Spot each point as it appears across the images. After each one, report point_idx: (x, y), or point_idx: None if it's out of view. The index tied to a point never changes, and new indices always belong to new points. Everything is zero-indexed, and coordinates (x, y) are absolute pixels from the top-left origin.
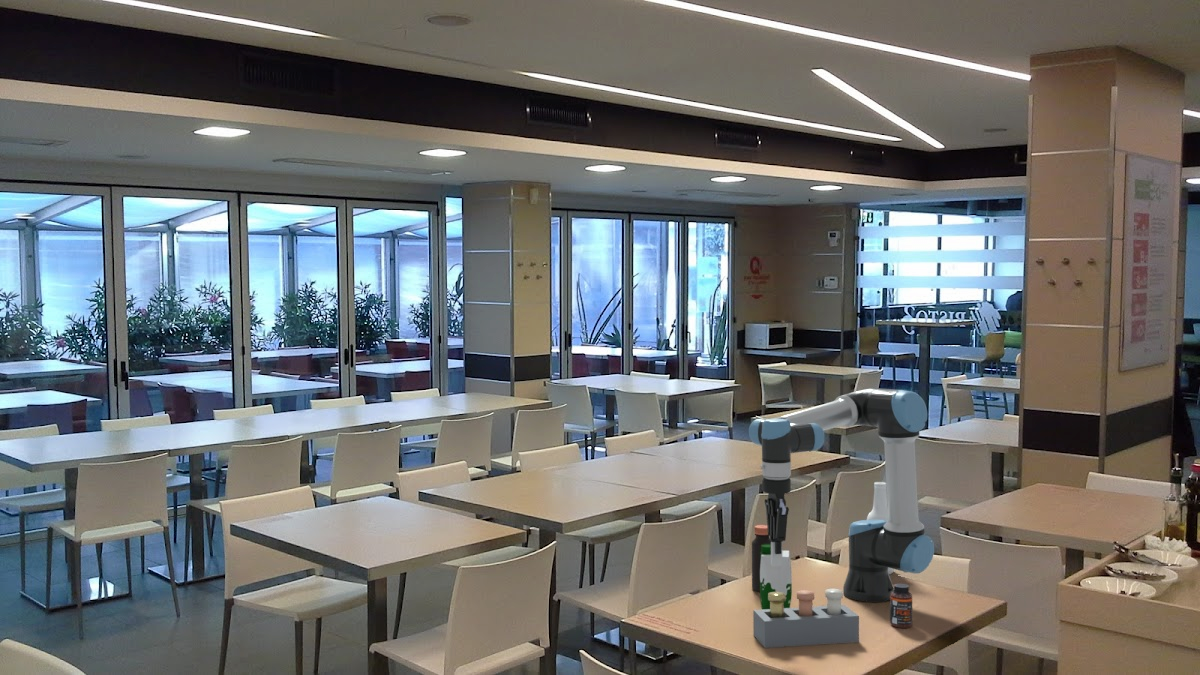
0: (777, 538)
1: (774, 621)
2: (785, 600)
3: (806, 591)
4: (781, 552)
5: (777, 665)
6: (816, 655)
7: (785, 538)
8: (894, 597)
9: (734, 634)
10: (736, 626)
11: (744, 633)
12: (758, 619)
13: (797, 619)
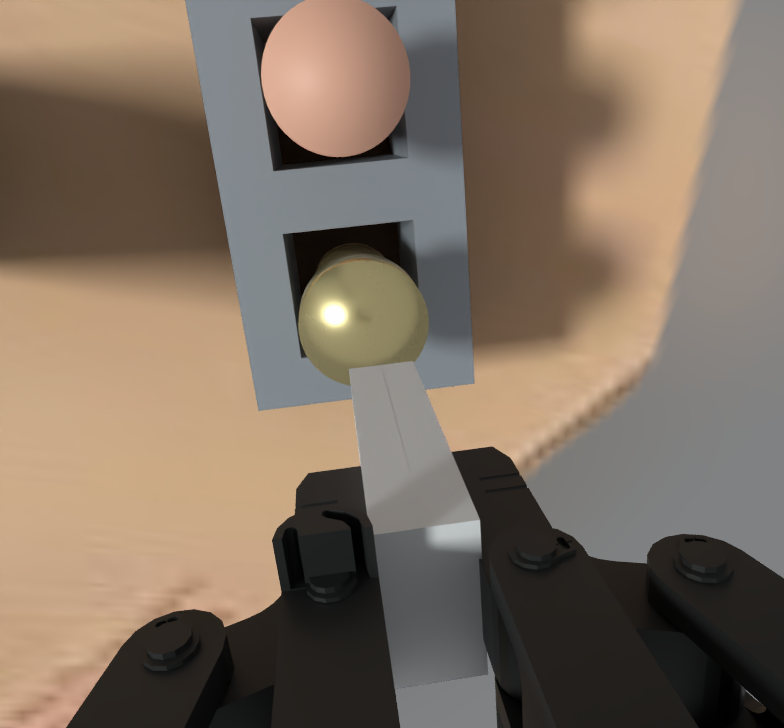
0: (746, 712)
1: (471, 328)
2: (385, 258)
3: (301, 59)
4: (508, 457)
5: (661, 326)
6: (579, 114)
7: (761, 565)
8: None
9: (250, 441)
10: (127, 417)
11: (236, 396)
12: None
13: (463, 184)
